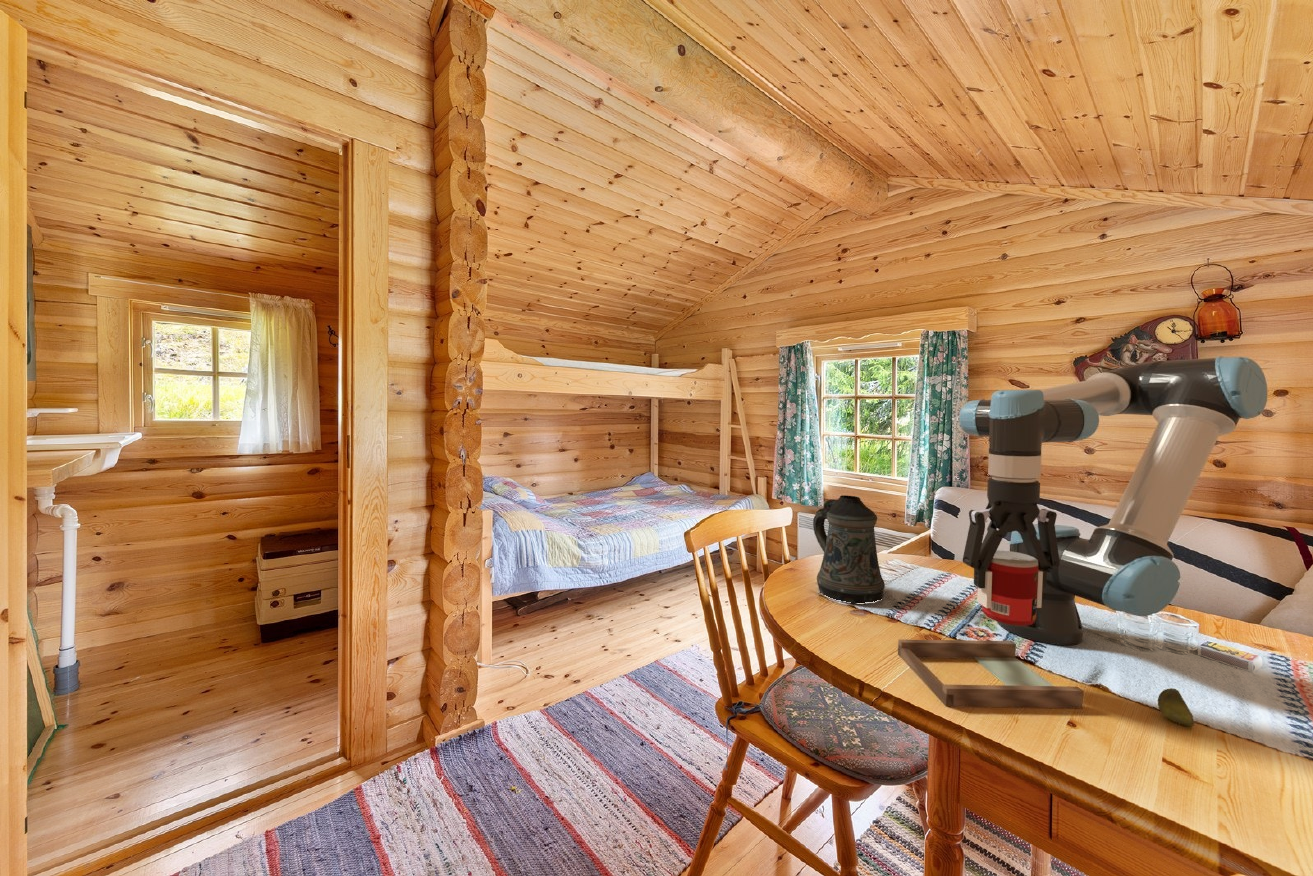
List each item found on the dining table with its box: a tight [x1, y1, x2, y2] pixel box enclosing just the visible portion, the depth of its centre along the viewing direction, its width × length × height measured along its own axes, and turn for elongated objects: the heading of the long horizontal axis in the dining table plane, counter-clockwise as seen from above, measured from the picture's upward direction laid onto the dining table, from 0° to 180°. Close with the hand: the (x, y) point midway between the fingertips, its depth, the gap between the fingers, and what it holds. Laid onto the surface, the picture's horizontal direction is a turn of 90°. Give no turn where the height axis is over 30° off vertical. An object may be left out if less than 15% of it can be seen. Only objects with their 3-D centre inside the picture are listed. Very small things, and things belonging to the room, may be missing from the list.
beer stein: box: [812, 494, 886, 603], centre depth 131 cm, size 16×19×25 cm
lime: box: [1157, 687, 1195, 727], centre depth 79 cm, size 4×5×5 cm
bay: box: [897, 638, 1085, 710], centre depth 90 cm, size 22×17×3 cm
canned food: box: [981, 550, 1038, 626], centre depth 90 cm, size 8×8×11 cm
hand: (1008, 604), depth 90 cm, fingers closed on canned food, 8 cm apart
